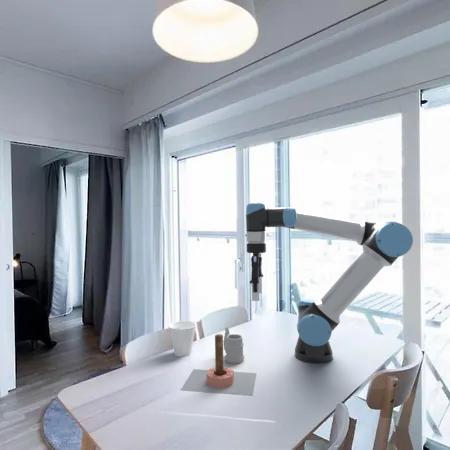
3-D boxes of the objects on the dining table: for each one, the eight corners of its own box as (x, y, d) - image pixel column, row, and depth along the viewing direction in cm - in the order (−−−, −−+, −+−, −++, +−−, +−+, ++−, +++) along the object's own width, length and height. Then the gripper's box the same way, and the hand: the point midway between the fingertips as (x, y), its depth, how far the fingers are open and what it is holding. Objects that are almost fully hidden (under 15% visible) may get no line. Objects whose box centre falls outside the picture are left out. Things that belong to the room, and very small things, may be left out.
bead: (235, 376, 117) (234, 367, 117) (231, 388, 108) (230, 379, 108) (210, 374, 119) (210, 366, 119) (204, 386, 110) (204, 377, 110)
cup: (178, 361, 131) (178, 331, 132) (163, 353, 140) (163, 324, 140) (202, 353, 139) (201, 324, 139) (186, 346, 148) (186, 319, 148)
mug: (232, 366, 126) (231, 335, 126) (216, 356, 136) (216, 327, 136) (248, 362, 130) (247, 332, 130) (232, 352, 140) (231, 324, 140)
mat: (256, 374, 119) (256, 373, 119) (252, 396, 103) (252, 395, 103) (193, 370, 123) (193, 369, 123) (180, 391, 108) (180, 390, 108)
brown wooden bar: (224, 379, 115) (223, 334, 114) (222, 383, 112) (222, 337, 112) (216, 379, 115) (215, 334, 115) (214, 382, 112) (214, 336, 112)
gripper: (249, 241, 140) (250, 290, 140) (242, 244, 116) (243, 304, 116) (267, 240, 139) (268, 290, 139) (263, 244, 114) (265, 304, 114)
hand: (257, 296), depth 127 cm, fingers open, 13 cm apart
